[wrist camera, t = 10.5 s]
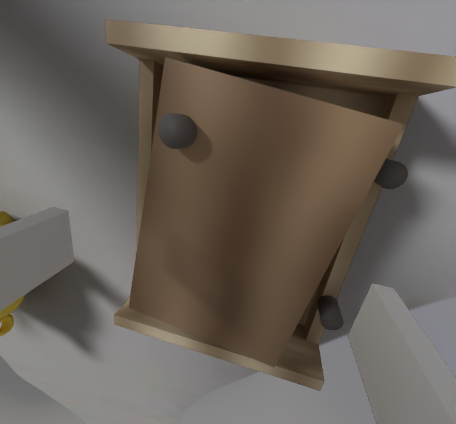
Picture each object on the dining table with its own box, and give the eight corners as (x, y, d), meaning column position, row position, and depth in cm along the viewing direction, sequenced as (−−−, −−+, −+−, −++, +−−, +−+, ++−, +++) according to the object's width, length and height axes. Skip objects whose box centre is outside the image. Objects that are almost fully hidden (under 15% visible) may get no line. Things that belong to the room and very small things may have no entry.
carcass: (150, 282, 24) (114, 324, 19) (159, 52, 17) (105, 19, 12) (313, 329, 21) (323, 391, 16) (407, 83, 14) (476, 58, 9)
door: (161, 269, 22) (119, 317, 16) (199, 77, 16) (154, 50, 10) (276, 314, 21) (273, 382, 15) (365, 125, 15) (416, 123, 9)
